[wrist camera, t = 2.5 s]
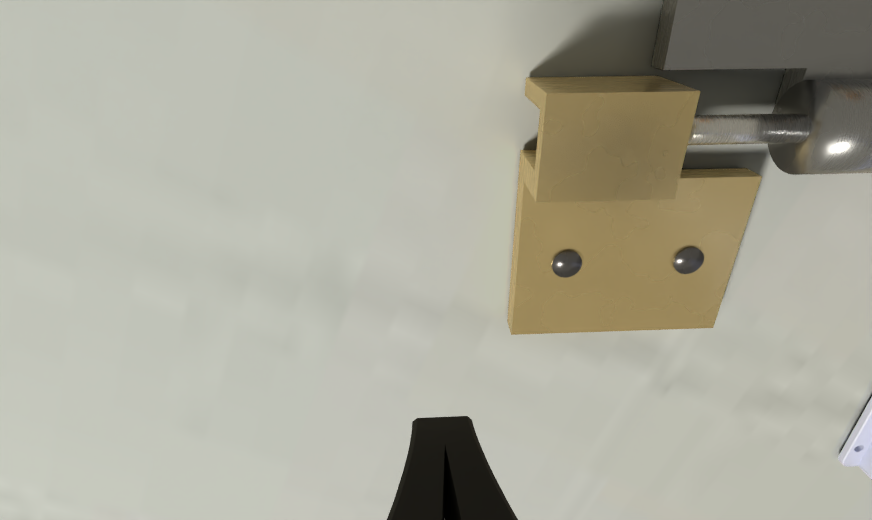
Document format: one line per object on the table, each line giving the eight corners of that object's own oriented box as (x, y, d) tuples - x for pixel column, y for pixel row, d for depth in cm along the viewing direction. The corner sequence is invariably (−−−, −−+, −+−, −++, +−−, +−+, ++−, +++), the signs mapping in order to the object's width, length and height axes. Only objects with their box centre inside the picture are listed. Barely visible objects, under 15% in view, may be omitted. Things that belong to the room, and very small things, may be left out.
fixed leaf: (856, 156, 20) (930, 185, 17) (632, 161, 19) (670, 191, 17) (999, -191, 15) (1138, -233, 12) (700, -193, 14) (771, -237, 12)
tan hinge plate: (701, 314, 23) (739, 357, 20) (507, 321, 23) (520, 365, 20) (774, 74, 18) (838, 89, 15) (526, 77, 17) (546, 93, 15)
